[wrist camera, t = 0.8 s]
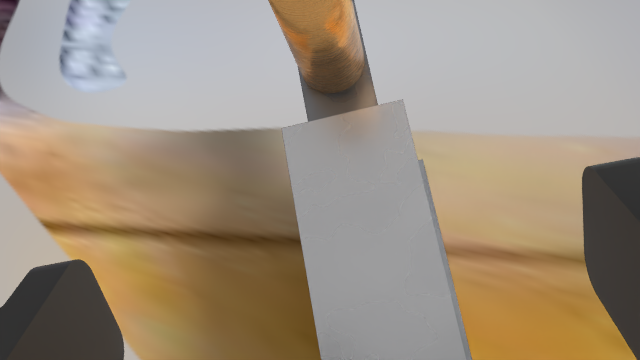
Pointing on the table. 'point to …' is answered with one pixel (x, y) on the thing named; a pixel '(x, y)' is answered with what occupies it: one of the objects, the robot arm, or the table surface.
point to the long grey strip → (327, 55)
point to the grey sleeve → (372, 240)
